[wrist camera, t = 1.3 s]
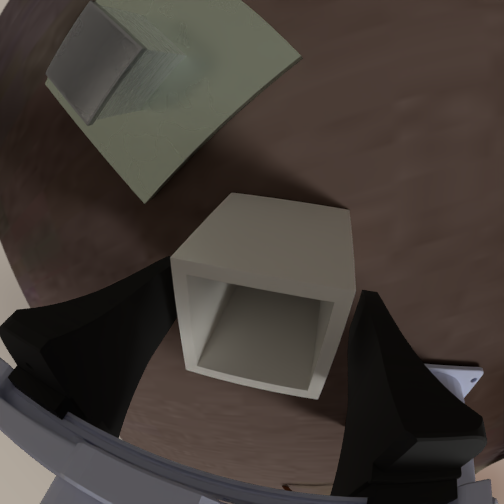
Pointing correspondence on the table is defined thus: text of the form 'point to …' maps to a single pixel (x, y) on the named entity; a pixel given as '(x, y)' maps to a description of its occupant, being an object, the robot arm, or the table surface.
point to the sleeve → (265, 293)
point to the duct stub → (162, 79)
